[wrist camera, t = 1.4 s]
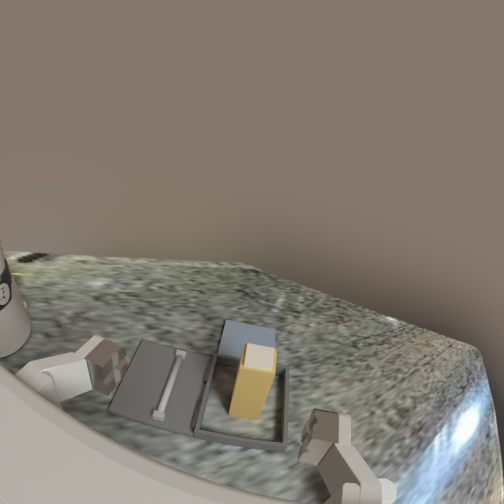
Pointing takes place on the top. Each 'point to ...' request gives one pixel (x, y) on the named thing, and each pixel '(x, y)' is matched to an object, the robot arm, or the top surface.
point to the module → (253, 381)
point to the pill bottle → (387, 491)
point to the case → (182, 394)
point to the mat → (244, 337)
